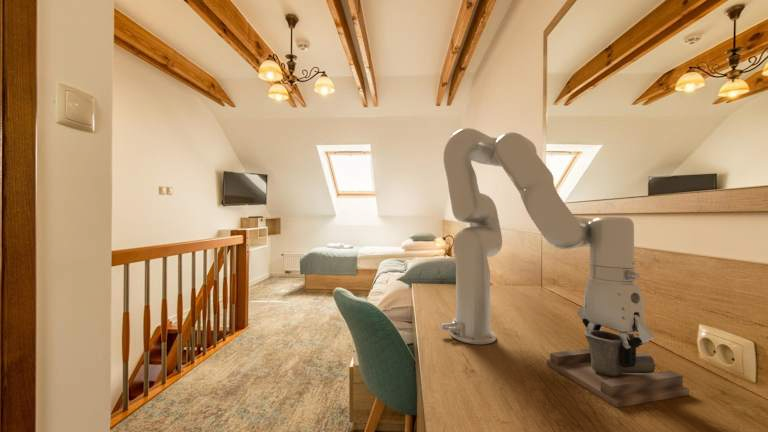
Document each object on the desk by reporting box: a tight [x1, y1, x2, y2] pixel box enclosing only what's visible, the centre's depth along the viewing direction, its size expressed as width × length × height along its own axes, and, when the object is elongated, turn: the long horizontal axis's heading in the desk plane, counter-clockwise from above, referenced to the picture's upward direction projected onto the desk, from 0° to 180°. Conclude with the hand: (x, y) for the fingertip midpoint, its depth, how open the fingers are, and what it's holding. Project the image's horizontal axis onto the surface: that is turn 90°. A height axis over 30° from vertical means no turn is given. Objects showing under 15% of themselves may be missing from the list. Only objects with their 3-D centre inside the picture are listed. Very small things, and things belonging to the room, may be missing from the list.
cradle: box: [546, 348, 690, 408], centre depth 62 cm, size 18×16×3 cm
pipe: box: [584, 330, 656, 376], centre depth 62 cm, size 6×13×8 cm, turn 85°
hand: (611, 357), depth 62 cm, fingers open, 6 cm apart
